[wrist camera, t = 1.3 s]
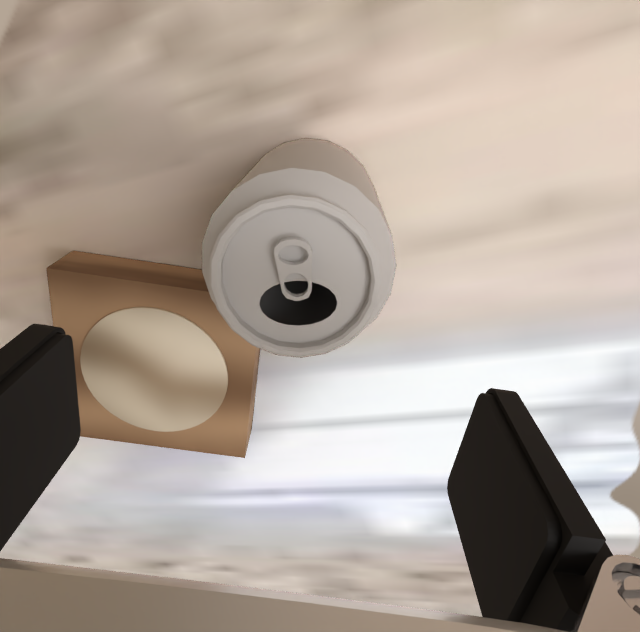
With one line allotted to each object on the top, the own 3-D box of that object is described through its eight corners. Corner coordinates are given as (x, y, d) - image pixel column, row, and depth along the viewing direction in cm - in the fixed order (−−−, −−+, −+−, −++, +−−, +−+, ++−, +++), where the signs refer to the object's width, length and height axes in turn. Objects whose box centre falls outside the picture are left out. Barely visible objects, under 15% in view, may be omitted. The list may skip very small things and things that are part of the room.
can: (253, 267, 29) (205, 377, 18) (238, 139, 26) (170, 181, 15) (374, 263, 29) (398, 373, 18) (376, 133, 26) (406, 172, 15)
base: (73, 250, 29) (44, 269, 26) (267, 279, 29) (260, 300, 27) (87, 406, 34) (64, 436, 31) (251, 428, 35) (244, 459, 32)
